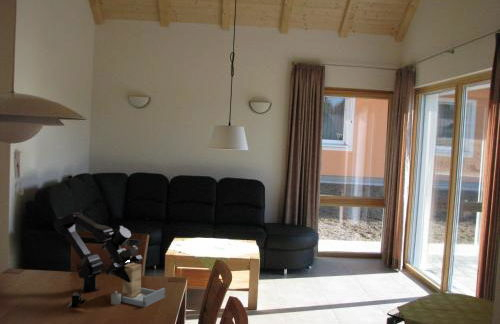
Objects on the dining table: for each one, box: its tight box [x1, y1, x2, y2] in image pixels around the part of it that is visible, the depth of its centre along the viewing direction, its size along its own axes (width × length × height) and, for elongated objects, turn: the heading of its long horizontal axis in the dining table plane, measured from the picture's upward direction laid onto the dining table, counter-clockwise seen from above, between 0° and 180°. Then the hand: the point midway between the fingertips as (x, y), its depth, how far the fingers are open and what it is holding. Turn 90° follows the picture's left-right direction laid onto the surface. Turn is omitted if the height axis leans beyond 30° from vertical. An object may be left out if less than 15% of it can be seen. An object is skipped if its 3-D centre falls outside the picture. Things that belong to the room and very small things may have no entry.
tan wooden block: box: [121, 263, 143, 298], centre depth 198 cm, size 5×6×13 cm
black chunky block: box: [66, 292, 86, 309], centre depth 191 cm, size 12×7×5 cm, turn 7°
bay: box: [110, 287, 166, 308], centre depth 194 cm, size 16×18×6 cm
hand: (134, 280), depth 198 cm, fingers closed on tan wooden block, 6 cm apart
